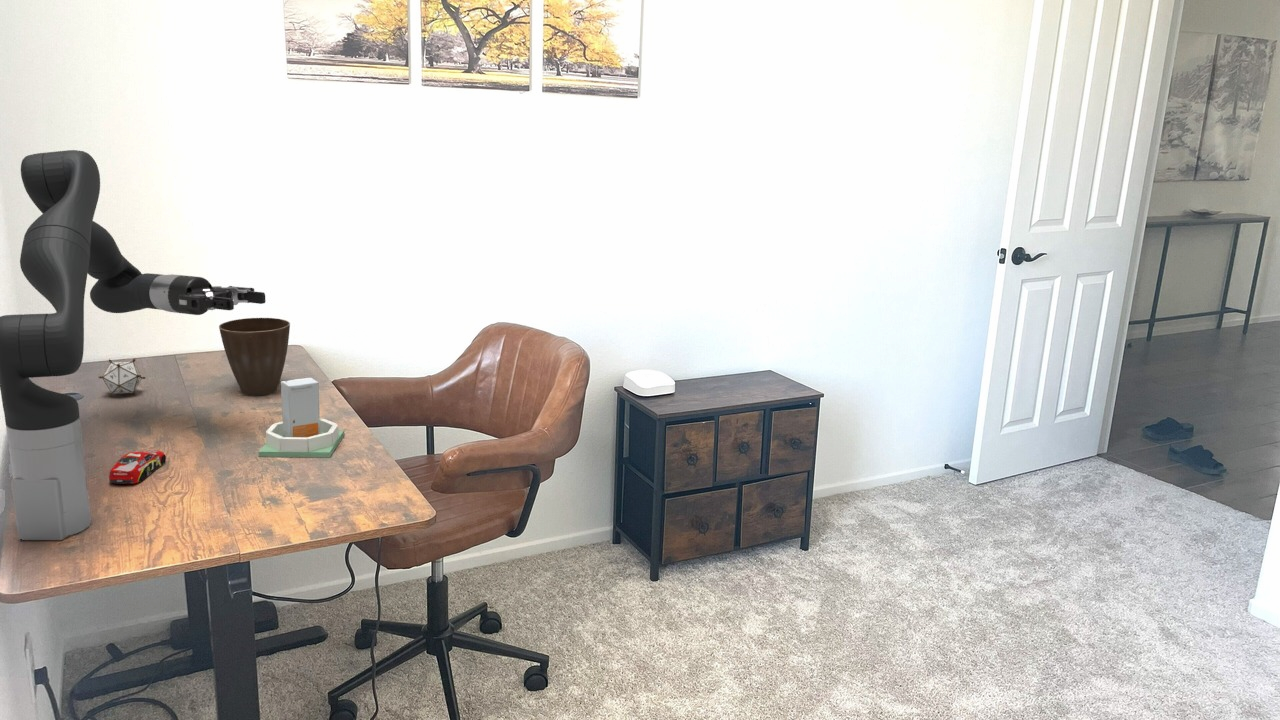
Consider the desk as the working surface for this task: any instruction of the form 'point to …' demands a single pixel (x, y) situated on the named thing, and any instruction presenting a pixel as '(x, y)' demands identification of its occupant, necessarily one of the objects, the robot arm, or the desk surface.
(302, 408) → the skincare box
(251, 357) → the plant pot
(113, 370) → the game die
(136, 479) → the race car
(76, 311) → the robot arm
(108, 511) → the desk surface
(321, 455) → the octagonal rimmed tray
